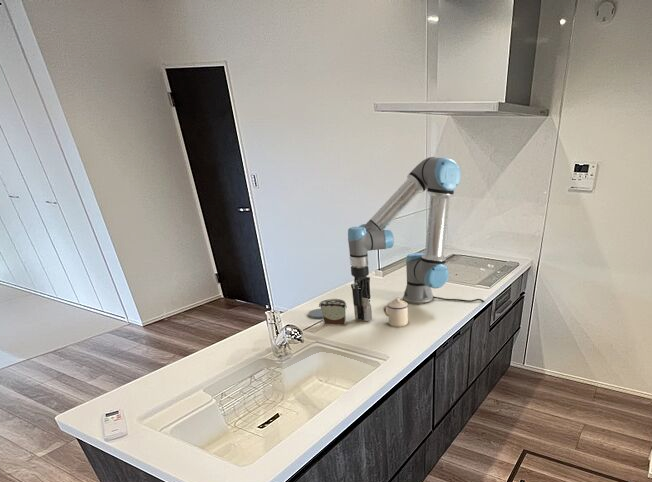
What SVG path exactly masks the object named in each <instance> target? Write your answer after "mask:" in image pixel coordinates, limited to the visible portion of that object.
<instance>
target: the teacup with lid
mask: <svg viewBox="0 0 652 482" xmlns="http://www.w3.org/2000/svg"><path fill="white" fill-rule="evenodd" d="M408 307H409V304H408V302H406V301H404V300H402V299H400V297H395V298H394V299H393V300H391V301H388V303H387V305H385V306H384V307H383V313H384V315H385V316H386V317H388V324H389V325H390V326H391V327H395V328H396V327H397V328H399V327H405V326H407V325H408V323H409V316H408V315H409V313H408Z"/></svg>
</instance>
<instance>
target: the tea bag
mask: <svg viewBox="0 0 652 482" xmlns="http://www.w3.org/2000/svg"><path fill="white" fill-rule="evenodd" d="M369 300H370V299H367V298H362V306H363V311H364V320H362V321H363V322H369V321H371V320H373V312H372V305H371V301H370V302H369ZM353 308H354V309H353V310H354V319H355V320H359V319H358V313H357V306H354V305H353ZM359 321H360V320H359Z"/></svg>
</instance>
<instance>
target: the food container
mask: <svg viewBox="0 0 652 482" xmlns="http://www.w3.org/2000/svg"><path fill="white" fill-rule="evenodd" d="M318 307H319V308H320V309H321V312H322V316H323V318H322V319H323V320H322V321H323V323H324V325H329V326H346V319H347V318H346V309H347V308H348V305H347V303H346V301H345V300H344V299H339V298H329V299H328V298H327V299H324V300H321V301H320V302H319V303H318Z"/></svg>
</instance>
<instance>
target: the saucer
mask: <svg viewBox="0 0 652 482" xmlns="http://www.w3.org/2000/svg"><path fill="white" fill-rule="evenodd" d="M308 316H309V318H311V319H315V320H319V319H323V316H322V312H321V308H316V309H312V310H310V311H309V312H308Z"/></svg>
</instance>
